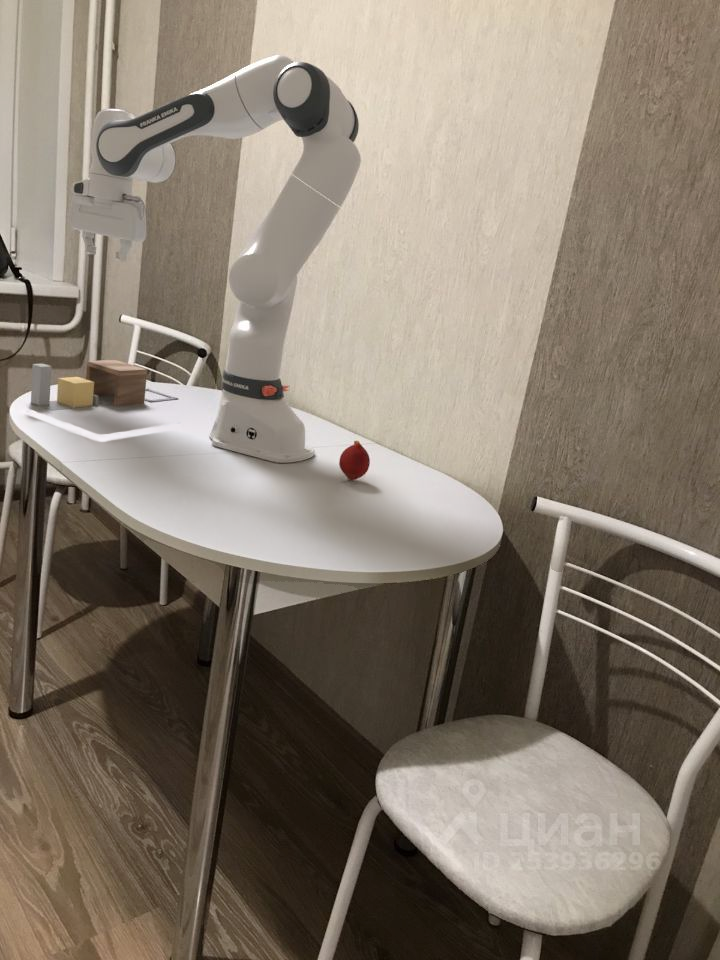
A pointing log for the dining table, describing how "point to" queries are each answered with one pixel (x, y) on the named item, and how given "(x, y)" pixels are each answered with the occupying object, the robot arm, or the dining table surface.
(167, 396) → the thin grey frame
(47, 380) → the grey angled piece
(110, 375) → the brown wooden box
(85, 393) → the block
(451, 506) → the dining table surface
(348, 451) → the onion
